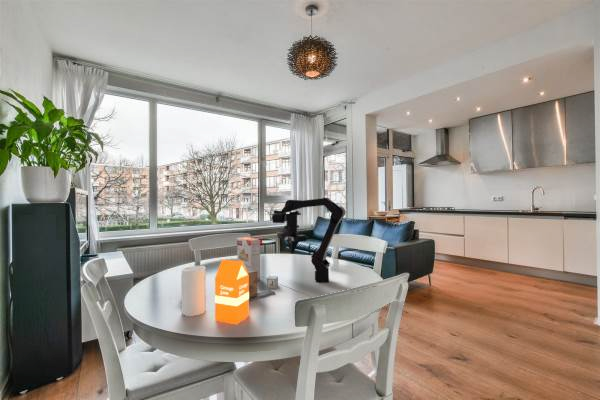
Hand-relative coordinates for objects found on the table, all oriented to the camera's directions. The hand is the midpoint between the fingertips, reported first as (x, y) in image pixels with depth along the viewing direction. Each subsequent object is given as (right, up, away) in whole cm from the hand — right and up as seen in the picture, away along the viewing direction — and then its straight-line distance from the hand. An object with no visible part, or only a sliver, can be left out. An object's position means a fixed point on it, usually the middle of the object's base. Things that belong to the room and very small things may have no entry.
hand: (291, 253), depth 148 cm
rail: (-16, -13, -30) cm, 37 cm away
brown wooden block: (-19, -12, -33) cm, 40 cm away
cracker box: (-23, -13, +1) cm, 27 cm away
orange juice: (-19, -13, -50) cm, 55 cm away
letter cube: (-9, -13, -14) cm, 21 cm away
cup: (-35, -13, -44) cm, 58 cm away
